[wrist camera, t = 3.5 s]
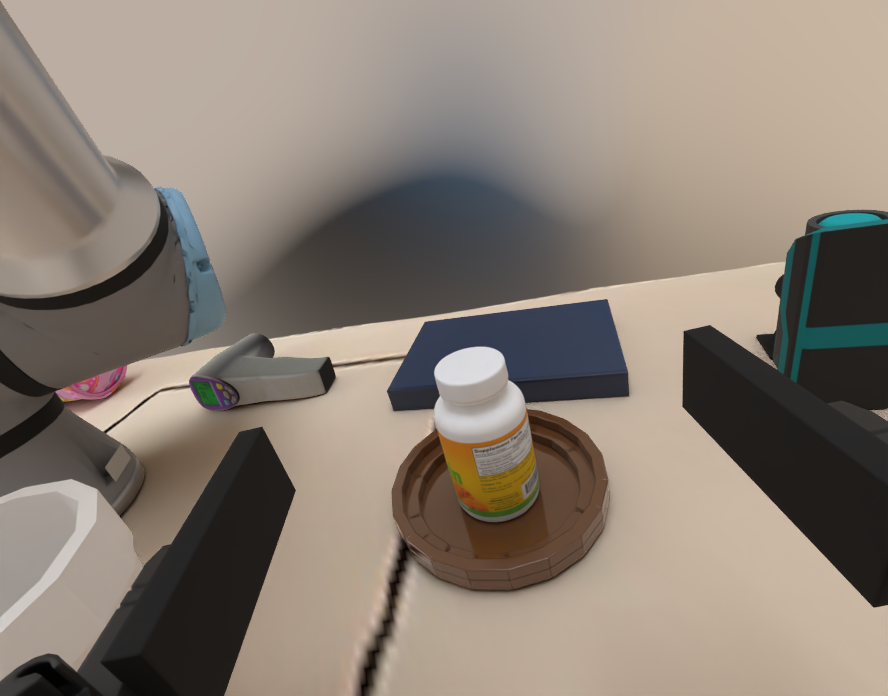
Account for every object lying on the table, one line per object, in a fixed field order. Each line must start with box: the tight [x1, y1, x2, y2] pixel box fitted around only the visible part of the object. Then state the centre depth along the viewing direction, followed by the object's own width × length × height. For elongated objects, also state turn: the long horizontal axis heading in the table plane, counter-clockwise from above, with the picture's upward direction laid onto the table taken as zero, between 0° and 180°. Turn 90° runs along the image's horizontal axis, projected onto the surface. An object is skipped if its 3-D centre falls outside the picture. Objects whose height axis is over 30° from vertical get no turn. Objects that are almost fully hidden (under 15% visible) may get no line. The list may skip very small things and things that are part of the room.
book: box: [387, 299, 629, 411], centre depth 42 cm, size 20×14×2 cm
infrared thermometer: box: [189, 333, 336, 411], centre depth 50 cm, size 5×12×15 cm
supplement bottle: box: [434, 347, 539, 522], centre depth 26 cm, size 5×5×10 cm
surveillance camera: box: [756, 210, 888, 409], centre depth 29 cm, size 6×12×10 cm
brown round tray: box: [392, 409, 610, 590], centre depth 28 cm, size 13×13×2 cm
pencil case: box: [55, 365, 127, 402], centre depth 60 cm, size 21×9×9 cm, turn 77°
